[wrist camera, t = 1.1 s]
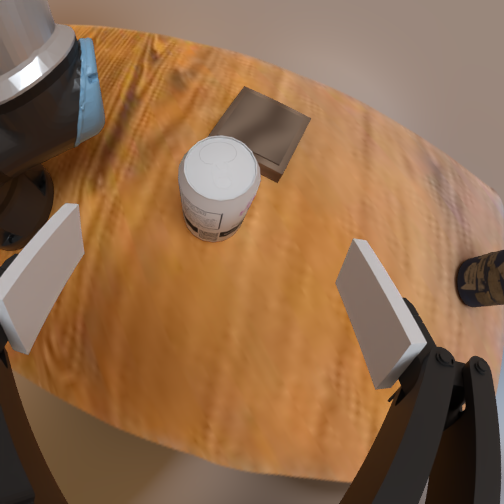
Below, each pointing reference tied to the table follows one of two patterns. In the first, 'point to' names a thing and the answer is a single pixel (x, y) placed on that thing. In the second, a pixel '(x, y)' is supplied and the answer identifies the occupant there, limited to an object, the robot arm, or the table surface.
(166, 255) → the table surface
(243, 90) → the stand
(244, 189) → the supplement can
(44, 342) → the table surface
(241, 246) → the table surface
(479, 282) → the canister
